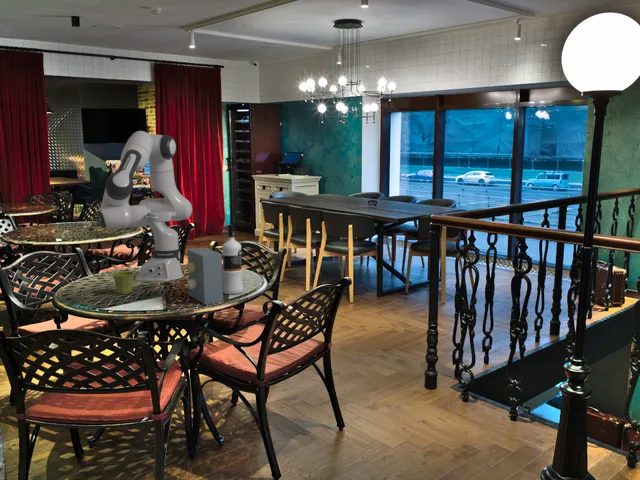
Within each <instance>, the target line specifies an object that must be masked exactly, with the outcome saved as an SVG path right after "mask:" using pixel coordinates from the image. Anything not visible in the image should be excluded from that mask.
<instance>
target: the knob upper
mask: <svg viewBox="0 0 640 480" xmlns="http://www.w3.org/2000/svg"><path fill="white" fill-rule="evenodd" d="M186 271H187V273H188V272H189V273H190V272H197V264H196V262H193V263H188V262H187V263H186Z"/></svg>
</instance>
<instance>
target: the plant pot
mask: <svg viewBox="0 0 640 480" xmlns="http://www.w3.org/2000/svg"><path fill="white" fill-rule="evenodd" d="M134 275H136V274H135V272H134V271H119V272H115V273H112V274H111V276H112V277H113V280H114V283H115V287H116V289H115V290H116V293H117V294H118V295H128V294H130V293H132V292H133V285H134V284H133V283H134V282H133V281H134V280H133V279H134Z"/></svg>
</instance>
